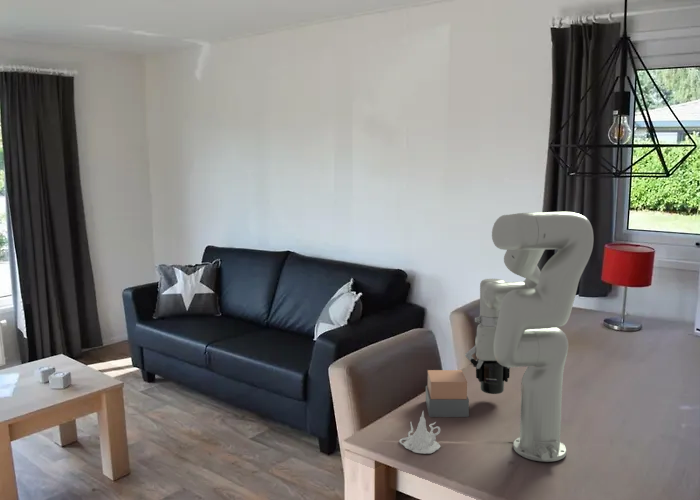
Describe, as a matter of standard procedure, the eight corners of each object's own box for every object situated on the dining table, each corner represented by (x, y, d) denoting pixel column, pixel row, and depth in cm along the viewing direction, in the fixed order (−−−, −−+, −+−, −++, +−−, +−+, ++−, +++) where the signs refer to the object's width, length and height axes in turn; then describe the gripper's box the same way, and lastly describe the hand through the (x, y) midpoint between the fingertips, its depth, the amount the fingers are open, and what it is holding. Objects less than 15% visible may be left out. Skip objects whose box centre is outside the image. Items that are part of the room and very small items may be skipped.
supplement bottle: (487, 395, 173) (487, 355, 172) (476, 388, 179) (476, 349, 178) (508, 393, 174) (509, 353, 173) (496, 386, 181) (497, 347, 180)
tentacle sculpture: (412, 433, 157) (412, 399, 156) (452, 446, 149) (452, 411, 148) (392, 445, 151) (392, 409, 149) (432, 459, 143) (433, 422, 142)
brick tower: (468, 417, 167) (469, 382, 166) (429, 416, 167) (429, 382, 166) (462, 402, 178) (463, 369, 177) (425, 401, 178) (425, 369, 177)
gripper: (465, 324, 171) (465, 384, 173) (526, 323, 171) (525, 384, 172) (461, 318, 179) (461, 376, 180) (519, 318, 178) (519, 376, 180)
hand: (492, 380), depth 176 cm, fingers closed on supplement bottle, 6 cm apart
